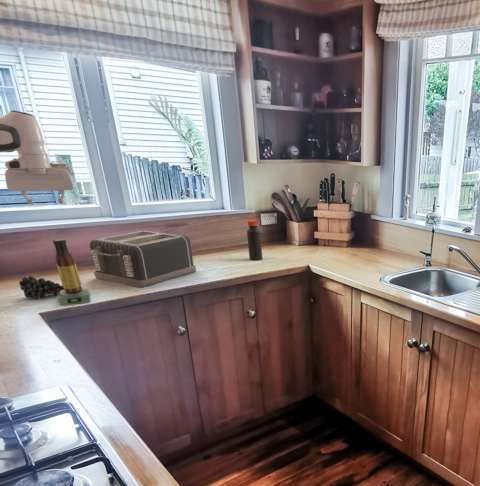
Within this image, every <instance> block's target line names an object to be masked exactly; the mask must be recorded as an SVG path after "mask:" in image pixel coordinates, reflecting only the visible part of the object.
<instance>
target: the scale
mask: <svg viewBox="0 0 480 486" xmlns="http://www.w3.org/2000/svg"><path fill="white" fill-rule="evenodd" d="M86 288H87V290H88V292H87V293H85V294H82V295H78V296H61V295H60V293H59V294H58V297H57V299H58V303H59V306H60V305H61V306H68V305H69V304H70V305H78V304H87V303H88V304H89V303H91V299H92V298H91V297H92V294H91V290H90V287H86ZM70 305H69V306H70Z"/></svg>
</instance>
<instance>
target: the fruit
mask: <svg viewBox="0 0 480 486" xmlns="http://www.w3.org/2000/svg"><path fill="white" fill-rule="evenodd" d="M18 283H19V288H20V290H21V291H23V293H24V296H25V298H27V299H30V298H31V299H35V300H39V299H41V298H45V297H46V296H47V295H48V296H50V295H52V296H58V295H59V292H60V291H61V290H64V288H63V285H61V284H60V283H58V282H54V281H52V280H50V279H47V280H46V279H45V278H43V277H41V278H35V276H31V275H29V276H28V277H25V276H24V277H22V278H21V280H19V281H18Z"/></svg>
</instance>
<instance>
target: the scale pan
mask: <svg viewBox="0 0 480 486" xmlns="http://www.w3.org/2000/svg"><path fill="white" fill-rule="evenodd" d="M87 288H88V287H83V286H82V290H80V291H77V292H66V291H65V290H61V291H60V292H59V293H60V295H61V296H78V295H82V294H85V293H87V292H88V290H87Z"/></svg>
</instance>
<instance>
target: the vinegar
mask: <svg viewBox="0 0 480 486" xmlns="http://www.w3.org/2000/svg"><path fill="white" fill-rule="evenodd" d="M258 225H259V223H258V220H257V219H251V220H247V226H248V228H247V230H246V236H247V245H248V257H249V260H250V261H261V260H263V249H262V236H261V230H260V229H259V228H258Z"/></svg>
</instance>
